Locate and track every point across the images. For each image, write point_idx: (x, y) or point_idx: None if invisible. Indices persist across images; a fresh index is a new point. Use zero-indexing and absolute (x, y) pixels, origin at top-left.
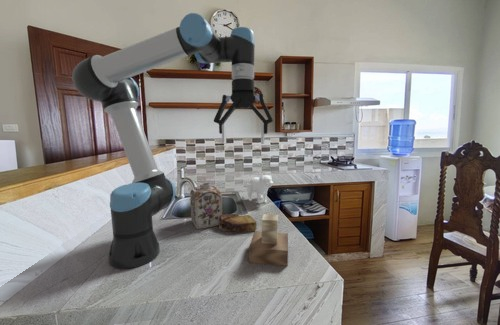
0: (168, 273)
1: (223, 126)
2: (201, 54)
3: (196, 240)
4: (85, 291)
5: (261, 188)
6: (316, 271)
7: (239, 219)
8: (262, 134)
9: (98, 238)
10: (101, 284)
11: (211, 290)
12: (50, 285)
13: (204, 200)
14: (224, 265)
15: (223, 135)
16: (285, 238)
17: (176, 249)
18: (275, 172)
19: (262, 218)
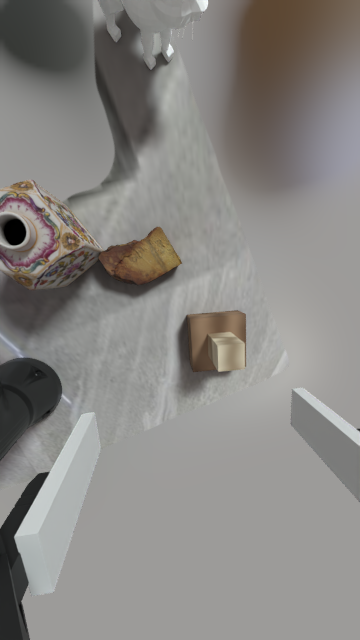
0: (101, 408)
1: (57, 568)
2: None
3: (89, 326)
4: (35, 454)
5: (158, 21)
6: (270, 359)
7: (146, 263)
8: (331, 461)
9: None
10: (41, 442)
11: (163, 418)
12: None
13: (51, 275)
14: (161, 376)
15: (82, 491)
16: (242, 332)
17: (75, 359)
18: None
19: (218, 366)
